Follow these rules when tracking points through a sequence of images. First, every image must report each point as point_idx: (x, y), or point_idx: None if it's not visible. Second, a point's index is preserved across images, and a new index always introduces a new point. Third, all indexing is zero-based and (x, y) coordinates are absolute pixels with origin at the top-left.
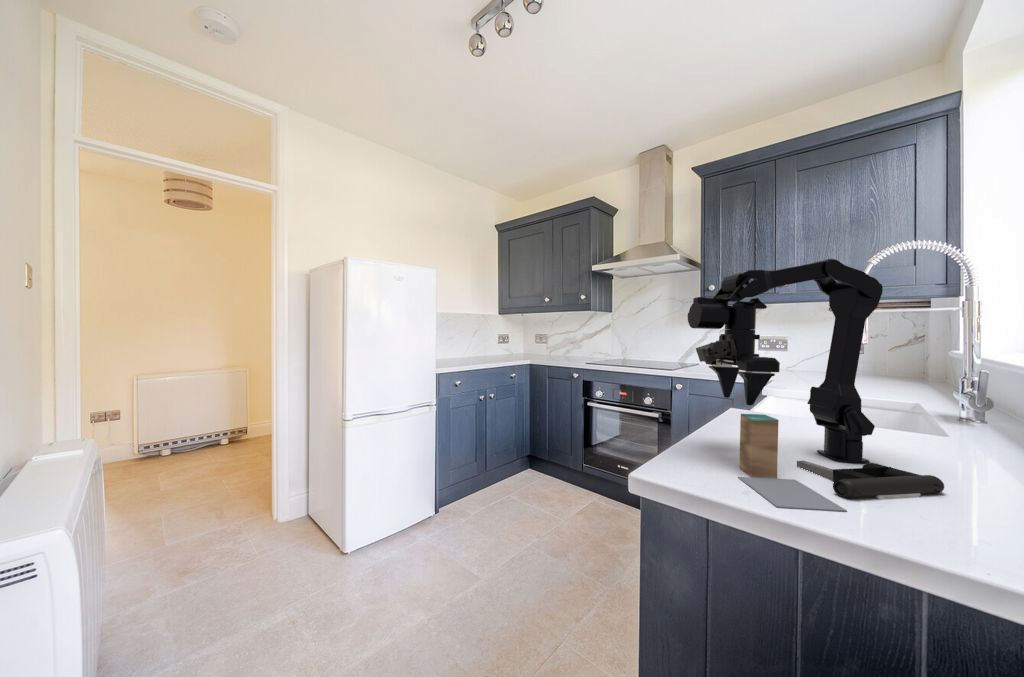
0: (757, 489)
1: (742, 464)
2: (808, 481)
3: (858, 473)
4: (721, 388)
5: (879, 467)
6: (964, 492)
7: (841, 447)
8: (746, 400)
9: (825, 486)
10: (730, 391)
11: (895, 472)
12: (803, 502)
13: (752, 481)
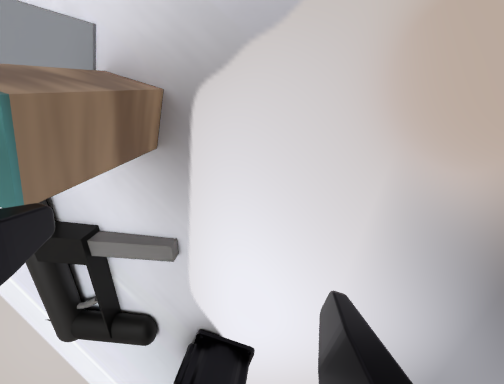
0: (14, 7)
1: (138, 84)
2: (96, 184)
3: (58, 257)
4: (388, 354)
5: (105, 321)
6: (86, 347)
7: (196, 365)
8: (8, 211)
9: (75, 192)
10: (320, 361)
11: (96, 325)
12: None
13: (64, 39)
